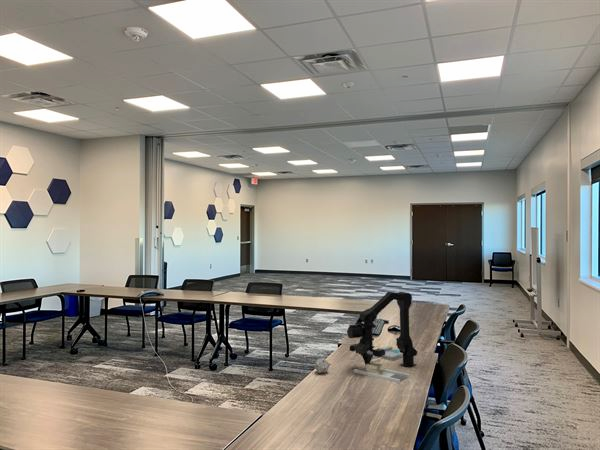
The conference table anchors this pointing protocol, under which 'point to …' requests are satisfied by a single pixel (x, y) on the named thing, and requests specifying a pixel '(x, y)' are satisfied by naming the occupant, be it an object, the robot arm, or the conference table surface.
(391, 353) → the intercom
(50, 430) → the conference table surface
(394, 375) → the trap lane
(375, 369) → the birch block
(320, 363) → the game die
